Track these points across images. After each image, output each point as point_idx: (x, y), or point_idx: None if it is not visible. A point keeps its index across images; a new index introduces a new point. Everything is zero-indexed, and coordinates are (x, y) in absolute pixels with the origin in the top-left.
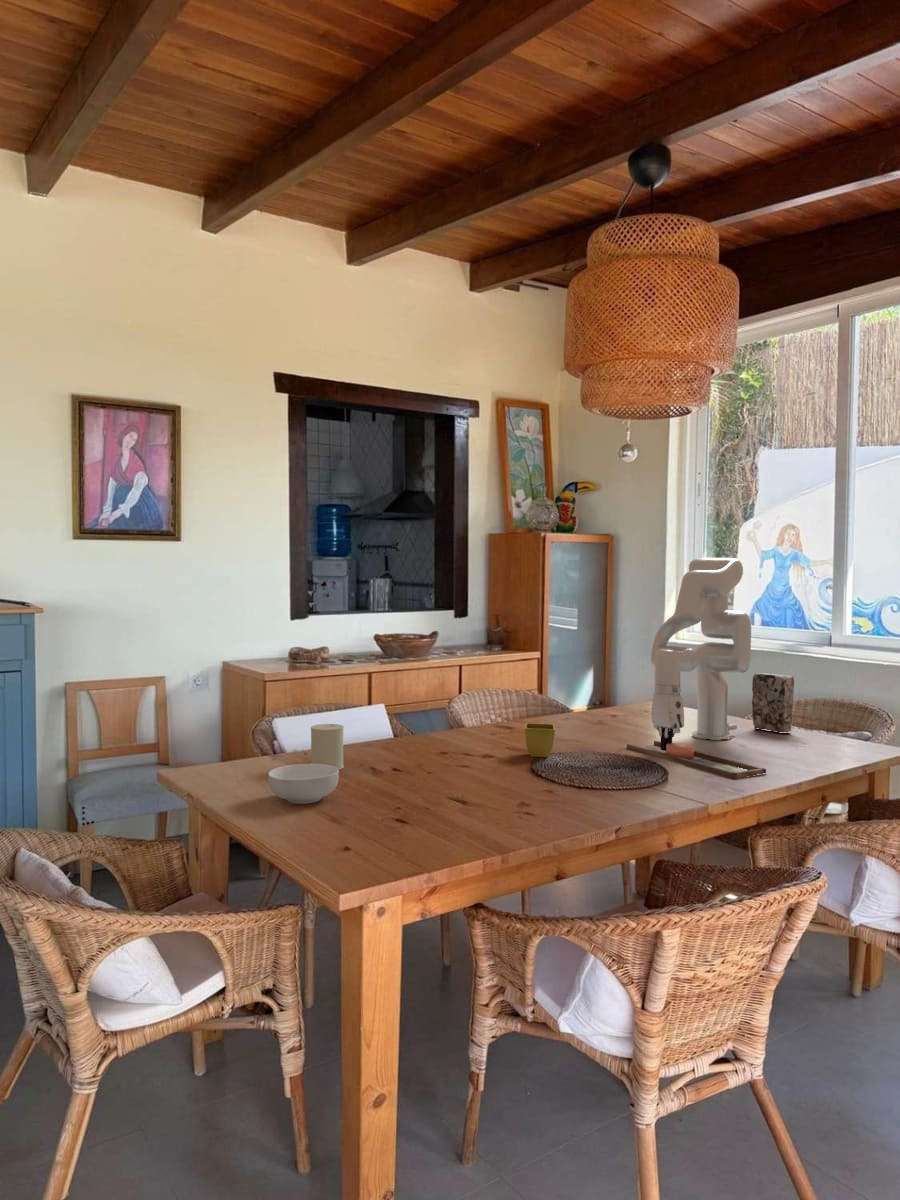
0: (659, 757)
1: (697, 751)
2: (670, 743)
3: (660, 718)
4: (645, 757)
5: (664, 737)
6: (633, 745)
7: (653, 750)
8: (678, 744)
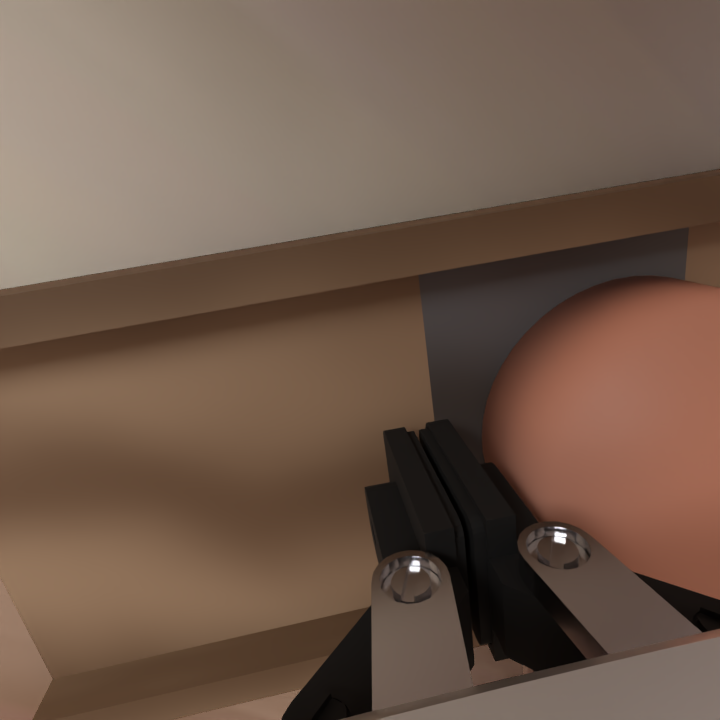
0: None
1: (711, 190)
2: None
3: None
4: None
5: (501, 642)
6: (139, 717)
7: None
8: (667, 477)
